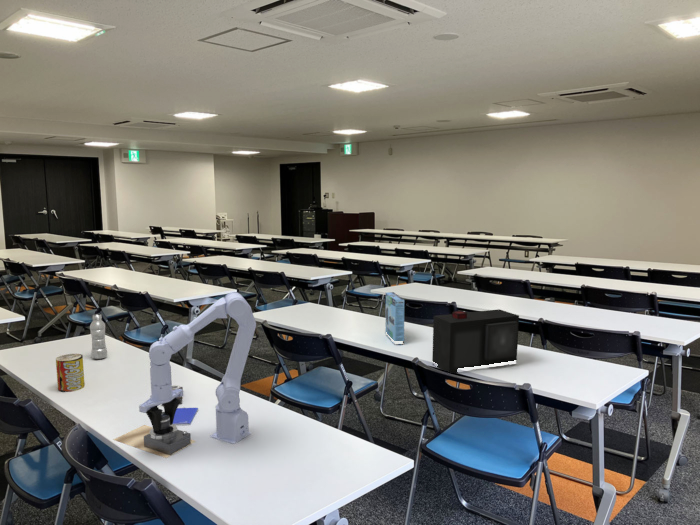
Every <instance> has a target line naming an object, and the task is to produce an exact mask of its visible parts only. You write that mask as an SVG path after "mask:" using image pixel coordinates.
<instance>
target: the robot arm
mask: <svg viewBox="0 0 700 525" xmlns="http://www.w3.org/2000/svg"><path fill="white" fill-rule="evenodd" d="M228 315H229V317H230V318H232V319H234V320H235V321H236V323H237V325H238V329H237V332H236V335H235V338H234V343H233V346H232V350H231V352H230V357H229V360H228V364H227V367H226V370H225V374H224V375H223V376H222V379H221V381H220V384H219V385H217V387H216V389H215V396H216V399H217V404H216V406H215V426H216V428H215V429H216V430H215V431H216V432H214V433H212V434H211V435H209V436H210V438H211V439H215V440H219V441H221V442H224V443H229V444H232V445H234V444H236V443H238V442H240V441H241V440H243V439H244V438H246V437H247V436H249V435H251V431H249V414H248V412H247V411H245V410H243V408H241V404H240V403H241V399H240V392H241V380H242V376H243V372H244V370H245V367H246V363H247V359H248V356H249V351H250V349H251V345H252V342H253V340H254V339H253V338H254V334H255V330H256V328H257V321H256V319H255V316H254V313H253V310H252V307H251V305H250V304H249V303H248V301H247V300H246V299H245V298H244V296H243V295H242V294H241V293H239V292H237V291H232V292H229V293H227V294H226V295H225V296H223V297H221V298H219V299H218V300H216V301H215V302H214V303H213V304H212V305H210V306H209V307H208V308H206V309H205V310H204V311H203V312H202V313H201V314H199V315H198V316H197V317H195V318H194V319H193V320H192V321H190V322H189V323H188V324H180V325H178V326H177V325H175V326H173V327H172V331H170V332H169V333H168V334H166V335H165V336H164V337H163V336H160V337H159V339H158V340H156V341H154V342H153V343H152V344H151V345H150V347H149V349H148V350H149V351H148V353H149V354H148V357H149V360H150V362H149V366H150V368H149V372H150V396H149V397H150V398H148V399H147V400H146V401H144V402H142V403H141V404H139V406H138V408H139V410H138V411H139V412H140V413H143V414H146V416H147V417H148V419H149V421H150V424H151V427H153V430H155V431H160V428H161V414H162V412H169V413H170V425H172V424H173V420H174V416H175V412H176V410H177V408H179V406H180V400H178V399H177V397H179V396H180V397H181V396H182V397H184V390H182V389H176V390H172V386H173V384H172V366H171V364H170V360H171V358H172V355H174V354H176V353H178V352H179V351H180V350H181V349H183V348H184V347H186V346H187V345H188V344H190V343H191V342H192V341H193V340H194V335H195V334H196V333H198V332H199V331H201V330H203V329H204V328H205V327H206V326H208V325H209V324H210V323H212V322H213V321H215V320H217V319H228ZM162 404H163V405H162ZM160 405H161V406H163V409H160V408H159V406H160Z"/></svg>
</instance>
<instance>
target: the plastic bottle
mask: <svg viewBox="0 0 700 525" xmlns="http://www.w3.org/2000/svg"><path fill="white" fill-rule="evenodd" d="M89 330H90V334H91V335H90V336H91V353H90V354H91V357H92V359H94V360H100V359H104V358H106V357H107V356H108V349H107V344H106V323H105V322H104V321H103V318H102V313H95V314H92V322H91V323H90V325H89Z"/></svg>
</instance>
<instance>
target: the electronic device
mask: <svg viewBox="0 0 700 525" xmlns="http://www.w3.org/2000/svg"><path fill="white" fill-rule="evenodd" d="M183 388H184V387H183V386H181V385H177V384H175V385H173V384H172V390H176V389H182V390H183ZM183 391H184V390H183ZM177 399H178V400H180V404H182V403H183V396H181V397H180V396H179V397H177ZM180 404H179V405H180ZM161 406H163V404H161Z"/></svg>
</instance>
